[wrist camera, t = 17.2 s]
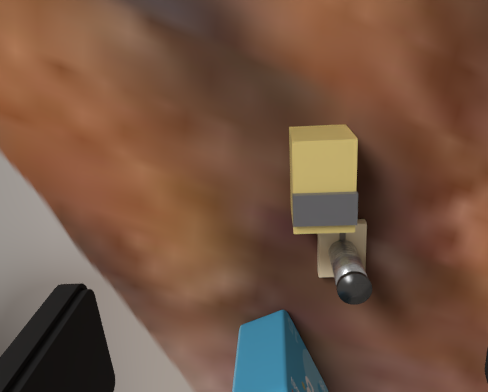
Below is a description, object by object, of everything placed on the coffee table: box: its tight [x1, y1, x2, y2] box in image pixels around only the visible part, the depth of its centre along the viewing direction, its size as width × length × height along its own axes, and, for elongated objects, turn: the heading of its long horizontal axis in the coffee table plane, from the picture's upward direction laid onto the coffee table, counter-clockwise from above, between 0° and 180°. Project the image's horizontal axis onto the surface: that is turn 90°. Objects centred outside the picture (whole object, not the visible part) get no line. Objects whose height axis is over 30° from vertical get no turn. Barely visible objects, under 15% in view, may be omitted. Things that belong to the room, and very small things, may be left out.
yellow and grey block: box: [289, 125, 358, 234], centre depth 34 cm, size 7×5×6 cm, turn 3°
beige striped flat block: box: [318, 219, 367, 277], centre depth 39 cm, size 5×4×1 cm
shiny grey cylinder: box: [328, 240, 372, 304], centre depth 36 cm, size 2×2×6 cm
